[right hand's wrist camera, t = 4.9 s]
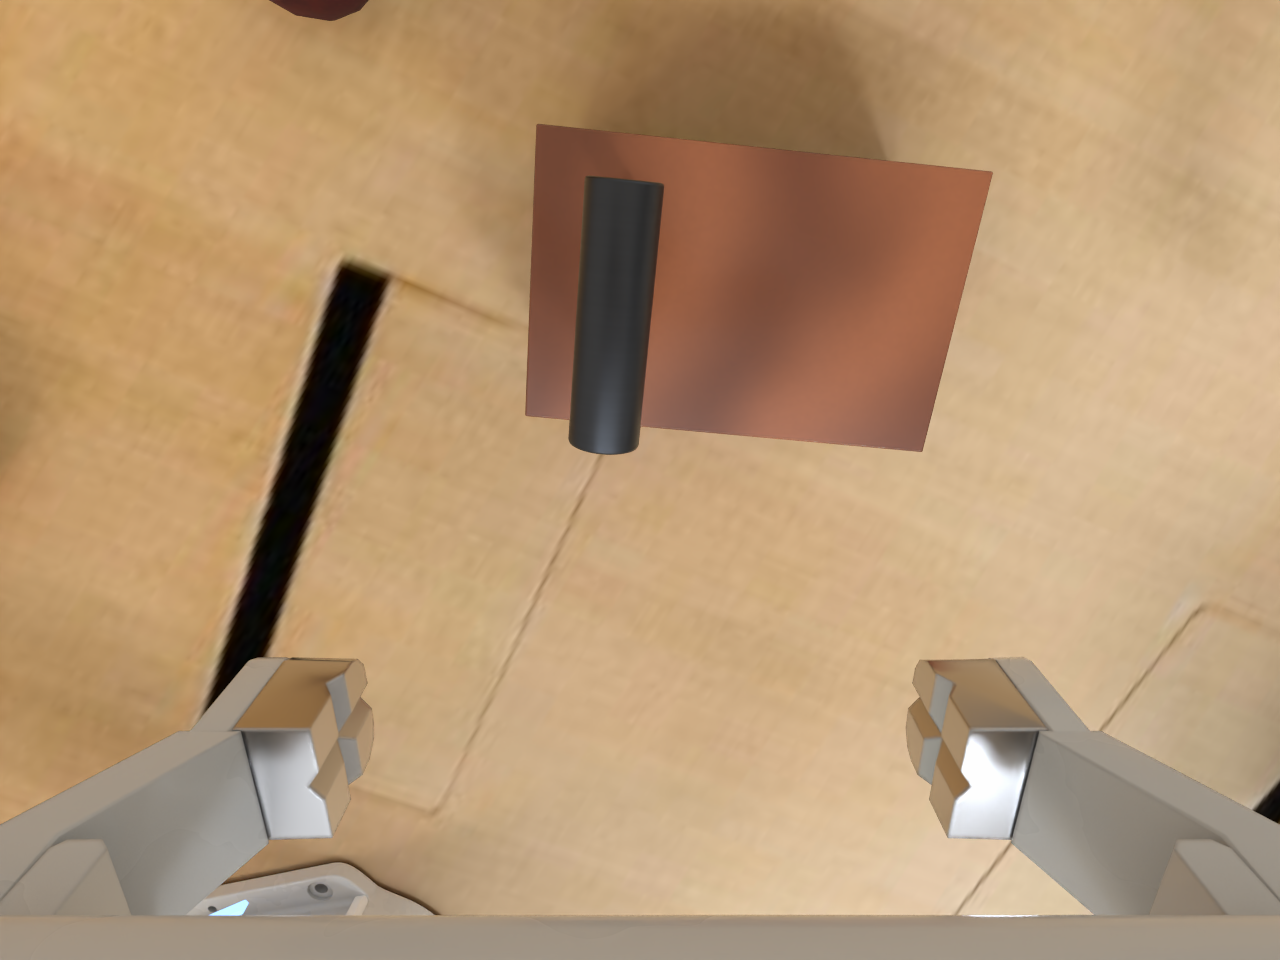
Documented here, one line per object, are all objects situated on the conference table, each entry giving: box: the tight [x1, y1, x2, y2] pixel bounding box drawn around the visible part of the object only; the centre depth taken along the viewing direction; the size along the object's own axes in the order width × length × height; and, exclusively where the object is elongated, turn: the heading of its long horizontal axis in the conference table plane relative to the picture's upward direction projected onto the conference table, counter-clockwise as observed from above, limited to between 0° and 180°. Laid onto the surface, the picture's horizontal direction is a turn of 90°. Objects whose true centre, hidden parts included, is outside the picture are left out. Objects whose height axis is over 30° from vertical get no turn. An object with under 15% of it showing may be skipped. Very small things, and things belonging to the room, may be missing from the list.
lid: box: [525, 124, 993, 455], centre depth 23 cm, size 15×10×8 cm, turn 85°
